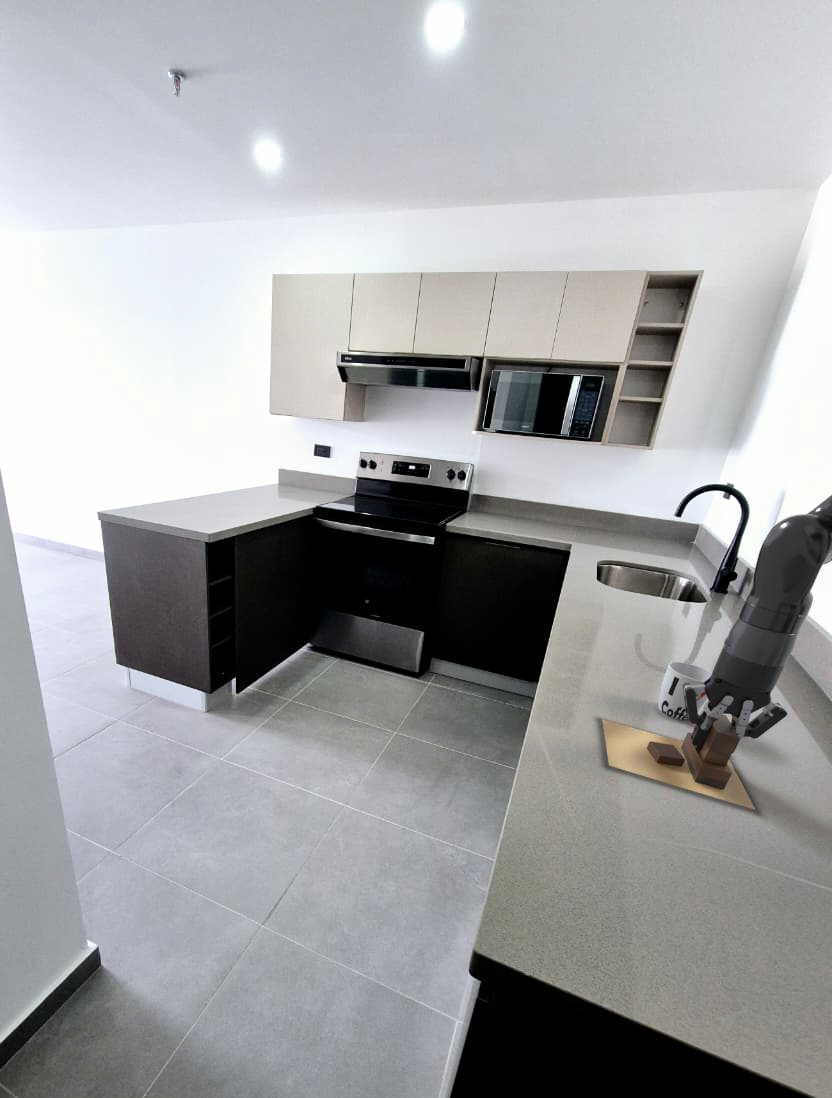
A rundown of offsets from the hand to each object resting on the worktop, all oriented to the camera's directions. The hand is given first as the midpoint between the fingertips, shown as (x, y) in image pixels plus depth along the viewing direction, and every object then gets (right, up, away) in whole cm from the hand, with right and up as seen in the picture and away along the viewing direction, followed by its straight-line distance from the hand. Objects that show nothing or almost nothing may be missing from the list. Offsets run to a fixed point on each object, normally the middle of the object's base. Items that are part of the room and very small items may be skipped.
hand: (709, 749), depth 80 cm
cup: (+6, +2, +18) cm, 19 cm away
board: (-5, -3, +3) cm, 6 cm away
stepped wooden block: (0, -3, +1) cm, 4 cm away
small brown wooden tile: (-6, -2, +3) cm, 6 cm away
